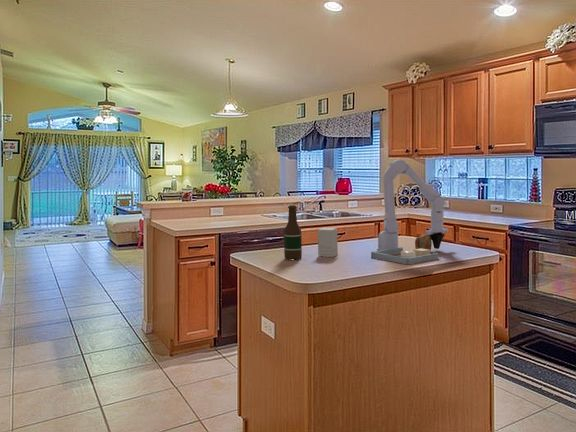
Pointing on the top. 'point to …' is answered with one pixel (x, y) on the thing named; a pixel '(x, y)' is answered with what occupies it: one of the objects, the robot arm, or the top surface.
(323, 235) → the supplement box
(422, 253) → the kraft box
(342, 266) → the top surface
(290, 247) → the beer bottle
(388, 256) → the tray
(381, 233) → the robot arm
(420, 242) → the tin
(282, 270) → the top surface
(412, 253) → the white short round piece
